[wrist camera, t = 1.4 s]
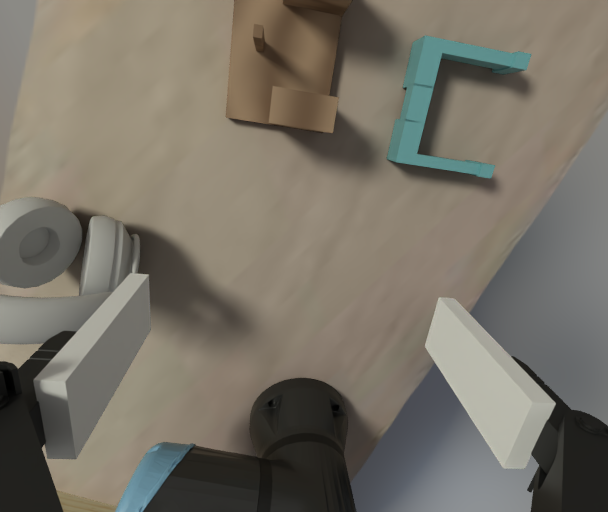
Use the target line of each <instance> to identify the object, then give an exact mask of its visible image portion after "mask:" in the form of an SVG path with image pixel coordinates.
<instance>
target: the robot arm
mask: <svg viewBox="0 0 608 512" xmlns="http://www.w3.org/2000/svg"><path fill="white" fill-rule="evenodd" d="M150 330H151V320H150V290H149V275H148V274H135V273H130V274H129V275H128V276H127V277H126V278H125V279H124V281H123V282H122V283H121V284H120V285H119V286H118V287H117V288H116V289H115V291H114V292H113V293H112V294H111V295H110V296H109V297H108V298H107V299H106V300H105V302H104V303H103V304H102V305H101V306H100V307H99V308H98V309H97V310H96V311H95V313H94V314H93V315H92V316H91V317H90V318H89V319H88V320H87V321H86V322H85V324H84V325H83V326H82V327H81V328H80V329H79V330H78V331H62V332H60V333H58V334H57V335H55V336H53V337H51V338H49V339H48V340H47V341H46V342H45V343H44V344H43V345H42V346H41V347H40V348H39V349H38V351H36V352H35V353H34V354H33V355H32V356H31V357H30V359H29V360H27V361H26V362H25V363H24V364H23V365H22V366H21V367H20V368H19V369H18V368H17V367H16V366H15V365H14V364H12V363H9V362H5V361H3V362H0V512H64V511H63V509H62V506H61V503H60V500H59V497H58V494H57V491H56V488H55V486H54V483H53V480H52V477H51V474H50V471H49V468H48V465H47V463H46V460H45V457H44V454H43V451H42V447H43V445H44V444H45V448H46V453H47V459H77V457H78V455H79V454H80V452H81V450H82V448H83V447H84V445H85V443H86V441H87V440H88V438H89V436H90V434H91V433H92V431H93V429H94V427H95V426H96V424H97V422H98V420H99V419H100V417H101V415H102V414H103V412H104V410H105V408H106V407H107V405H108V403H109V401H110V400H111V398H112V396H113V394H114V393H115V391H116V389H117V387H118V386H119V384H120V382H121V380H122V379H123V377H124V375H125V374H126V372H127V370H128V368H129V367H130V365H131V363H132V361H133V360H134V358H135V356H136V354H137V353H138V351H139V349H140V347H141V346H142V344H143V342H144V340H145V339H146V337H147V335H148V334H149V332H150ZM425 347H426V349H427V351H428V352H429V354H430V355H431V357H432V358H433V360H434V361H435V363H436V365H437V366H438V368H439V369H440V371H441V372H442V374H443V375H444V377H445V379H446V380H447V382H448V383H449V385H450V386H451V388H452V389H453V391H454V393H455V394H456V396H457V397H458V399H459V400H460V402H461V403H462V405H463V407H464V408H465V410H466V411H467V413H468V414H469V416H470V417H471V419H472V420H473V422H474V424H475V425H476V427H477V428H478V430H479V431H480V433H481V434H482V436H483V438H484V439H485V441H486V442H487V444H488V445H489V447H490V448H491V450H492V452H493V453H494V455H495V456H496V458H497V459H498V461H499V462H500V464H501V466H502V467H503V468H511V469H512V468H514V469H525V467H526V465H527V463H528V461H529V459H530V457H531V455H532V456H533V457H534V458H535V460H536V461H537V462H538V464H539V467H538V469H537V471H536V473H535V475H534V477H533V480H532V481H531V483H530V485H529V488H528V489H527V490H528V491H529V492H532V490H533V498H532V507H531V512H608V426H607V425H606V424H604V423H603V422H602V421H600V420H599V419H597V418H595V417H593V416H592V415H590V414H587V413H584V412H581V411H577V410H571V409H570V408H569V407H568V406H567V405H566V404H565V403H564V402H563V401H562V400H561V399H560V398H559V397H558V396H557V395H556V394H555V393H554V392H553V391H552V390H551V389H550V388H549V387H548V386H547V385H545V384H544V382H543V381H542V380H541V379H540V378H539V377H537V375H536V374H535V373H534V372H533V371H532V370H531V369H530V368H529V367H528V366H527V365H526V364H524V363H523V362H521V361H520V360H518V359H517V358H515V357H513V356H510V355H508V353H507V352H506V351H505V350H504V349H503V348H502V347H501V346H500V345H499V344H498V343H497V342H496V341H495V340H494V339H493V338H492V337H491V336H490V335H489V334H488V333H487V332H486V331H485V330H484V329H483V327H481V325H480V324H479V323H478V322H477V321H476V320H475V319H474V318H473V317H472V316H471V315H470V314H469V313H468V312H467V311H466V310H465V309H464V308H463V307H462V306H461V305H460V304H459V303H458V302H457V301H456V300H455V299H454V298H442V297H439V299H438V303H437V306H436V309H435V313H434V316H433V320H432V323H431V327H430V330H429V334H428V337H427V340H426V344H425ZM347 429H348V417H347V413H346V409H345V405H344V402H343V400H342V398H341V396H340V395H339V394H338V393H337V391H336V390H334V389H333V388H332V387H330V386H329V385H327V384H325V383H323V382H321V381H318V380H314V379H307V378H296V379H289V380H285V381H282V382H279V383H277V384H274V385H273V386H271V387H269V388H268V389H266V390H265V391H264V392H263V393H262V394H261V395H260V396H259V397H258V398H257V399H256V401H255V403H254V405H253V407H252V410H251V414H250V436H251V439H252V442H253V445H254V448H255V451H256V454H257V457H254V456H248V455H243V454H237V453H231V452H226V451H220V450H215V449H209V448H204V447H199V446H196V445H195V444H189V445H187V444H178V443H169V442H162V443H158V444H156V445H155V446H153V447H152V448H151V449H150V450H148V452H147V453H146V454H145V456H144V457H143V459H142V460H141V462H140V463H139V465H138V467H137V469H136V470H135V472H134V474H133V476H132V478H131V480H130V482H129V484H128V486H127V488H126V490H125V492H124V494H123V496H122V498H121V500H120V502H119V504H118V506H117V508H116V511H115V512H356V508H355V504H354V499H353V494H352V490H351V485H350V481H349V476H348V472H347V467H346V463H345V458H344V449H345V442H346V435H347ZM533 488H534V489H533Z"/></svg>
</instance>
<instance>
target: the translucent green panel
mask: <svg viewBox="0 0 608 512" xmlns="http://www.w3.org/2000/svg"><path fill="white" fill-rule="evenodd" d="M57 494H58V497H59V500H60V503H61V506H62V509H63V511H64V512H115V511H116V508H117V507H116V506H112V505H109V504H105V503H101V502H97V501H94V500H90V499H86V498H82V497H78V496H75V495H71V494H67V493H63V492H60V491H57Z"/></svg>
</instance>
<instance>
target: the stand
mask: <svg viewBox="0 0 608 512" xmlns="http://www.w3.org/2000/svg"><path fill="white" fill-rule="evenodd" d="M352 1H353V0H234V13H233V26H232V40H231V53H230V67H229V80H228V94H227V107H226V117H227V118H233V119H239V120H245V121H252V122H258V123H264V124H270V125H276V126H282V127H289V128H295V129H301V130H307V131H313V132H320V133H323V132H328V133H333V129H334V123H335V117H336V111H337V105H338V99H339V97H333V96H329V94H330V88H331V82H332V76H333V70H334V64H335V57H336V51H337V45H338V39H339V33H340V27H341V20H342V16H343V14H344V13H345V11H346V10H347V8H348V7H349V5H350V4H351V2H352Z"/></svg>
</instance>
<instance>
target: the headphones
mask: <svg viewBox="0 0 608 512" xmlns="http://www.w3.org/2000/svg"><path fill="white" fill-rule="evenodd" d="M81 243H82V228H81V225H80V222H79V220H78V218H77V217H76V216H75V215H74V214H73V213H72V212H71V211H70V210H69V209H68V208H67V207H66V206H65V205H63V204H60V203H58V202H56V201H53V200H49V199H43V198H37V197H25V198H20V199H15V200H12V201H10V202H8V203H5V204H3V205H0V283H1V284H2V285H8V286H13V287H20V288H30V287H37V286H40V285H42V284H45V283H47V282H50V281H52V280H53V279H55V278H56V277H57V276H59V275H60V274H62V273H63V272H64V271H65V270H66V269H67V268H68V267H69V266H70V265H71V264H72V262H73V261H74V259H75V257H76V256H77V254H78V252H79V249H80V246H81ZM139 261H140V239H139V236H138V235H137V234H132V235H131V236H129V234H128V233H127V231H126V229H125V227H124V225H123V223H122V222H121V221H116V220H114V219H113V218H110V217H107V216H104V215H103V216H93V217H92V218H91V220H90V222H89V227H88V232H87V237H86V242H85V248H84V255H83V262H82V270H81V278H80V288H79V296H71V297H55V298H35V297H18V296H8V295H0V344H41V343H45V342H46V341H47V340H48V339H49V338H51V337H53V336H55V335H57V334H58V333H60V332H62V331H78V330H79V329H80V328H81V327H82V326H83V325H84V324H85V322H86V321H87V320H88V319H89V318H90V317H91V316H92V315H93V314H94V313H95V311H96V310H97V309H98V308H99V307H100V306H101V305H102V304H103V303H104V302H105V300H106V299H107V298H108V297H109V296H110V295H111V294H112V293H113V292H114V291H115V289H116V288H117V287H118V286H119V285H120V284H121V283H122V282H123V281H124V279H125V278H126V277H127V276H128V275H129V274H130V273H135V274H138V268H139Z"/></svg>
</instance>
